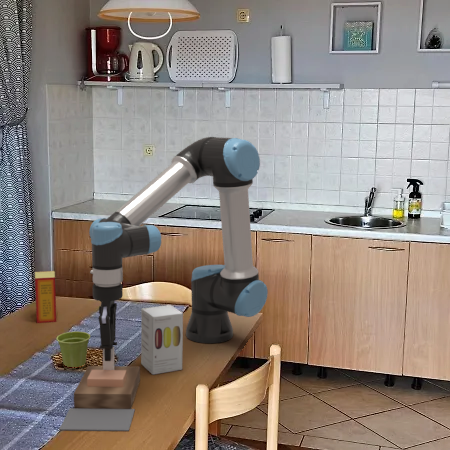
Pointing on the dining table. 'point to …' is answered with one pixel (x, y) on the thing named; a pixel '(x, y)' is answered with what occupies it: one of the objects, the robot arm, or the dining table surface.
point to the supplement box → (161, 339)
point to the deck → (108, 391)
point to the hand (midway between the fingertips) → (108, 370)
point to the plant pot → (73, 348)
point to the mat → (98, 419)
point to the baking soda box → (45, 296)
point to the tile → (107, 378)
